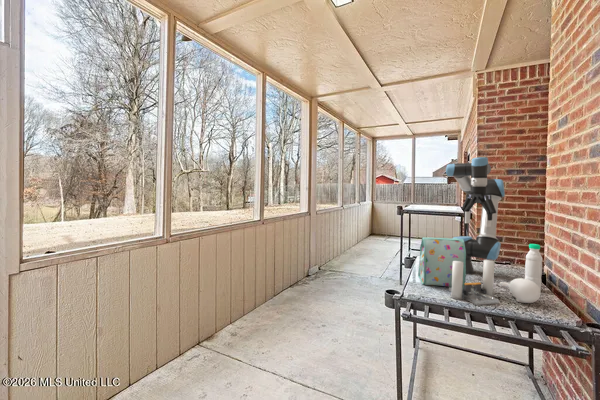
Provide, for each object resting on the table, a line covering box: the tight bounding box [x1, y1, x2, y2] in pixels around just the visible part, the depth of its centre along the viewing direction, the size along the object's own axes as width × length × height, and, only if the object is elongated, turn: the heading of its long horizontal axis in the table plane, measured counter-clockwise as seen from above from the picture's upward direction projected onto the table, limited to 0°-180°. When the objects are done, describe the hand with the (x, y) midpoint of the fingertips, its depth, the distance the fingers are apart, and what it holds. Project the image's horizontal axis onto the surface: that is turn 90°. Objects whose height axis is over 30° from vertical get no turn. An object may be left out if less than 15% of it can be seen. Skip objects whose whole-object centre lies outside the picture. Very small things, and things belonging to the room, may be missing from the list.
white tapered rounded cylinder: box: [449, 261, 464, 301], centre depth 135 cm, size 5×5×18 cm
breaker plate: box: [448, 287, 500, 306], centre depth 137 cm, size 18×12×4 cm, turn 11°
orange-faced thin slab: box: [464, 282, 482, 292], centre depth 137 cm, size 1×9×4 cm, turn 101°
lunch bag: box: [417, 236, 467, 288], centre depth 156 cm, size 23×16×27 cm
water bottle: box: [524, 243, 544, 292], centre depth 149 cm, size 7×7×25 cm
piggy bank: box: [499, 277, 542, 304], centre depth 133 cm, size 12×12×15 cm
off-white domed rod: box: [481, 259, 495, 298], centre depth 138 cm, size 5×5×18 cm
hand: (477, 224), depth 149 cm, fingers open, 13 cm apart
